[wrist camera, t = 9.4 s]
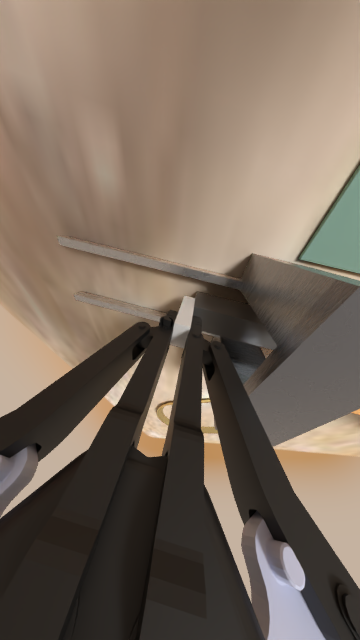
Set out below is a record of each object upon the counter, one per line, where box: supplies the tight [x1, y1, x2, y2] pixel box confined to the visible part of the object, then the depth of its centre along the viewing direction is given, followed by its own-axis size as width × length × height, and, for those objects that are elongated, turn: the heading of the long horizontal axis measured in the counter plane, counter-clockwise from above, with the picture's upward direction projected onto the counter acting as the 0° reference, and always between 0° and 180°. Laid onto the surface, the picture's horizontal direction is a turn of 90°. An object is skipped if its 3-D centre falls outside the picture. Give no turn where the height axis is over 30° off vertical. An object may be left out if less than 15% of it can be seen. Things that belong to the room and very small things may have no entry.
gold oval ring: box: [157, 399, 218, 434], centre depth 37 cm, size 19×35×2 cm, turn 116°
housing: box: [57, 236, 360, 446], centre depth 14 cm, size 15×30×12 cm, turn 79°
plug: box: [193, 292, 360, 415], centre depth 15 cm, size 5×20×10 cm, turn 79°
